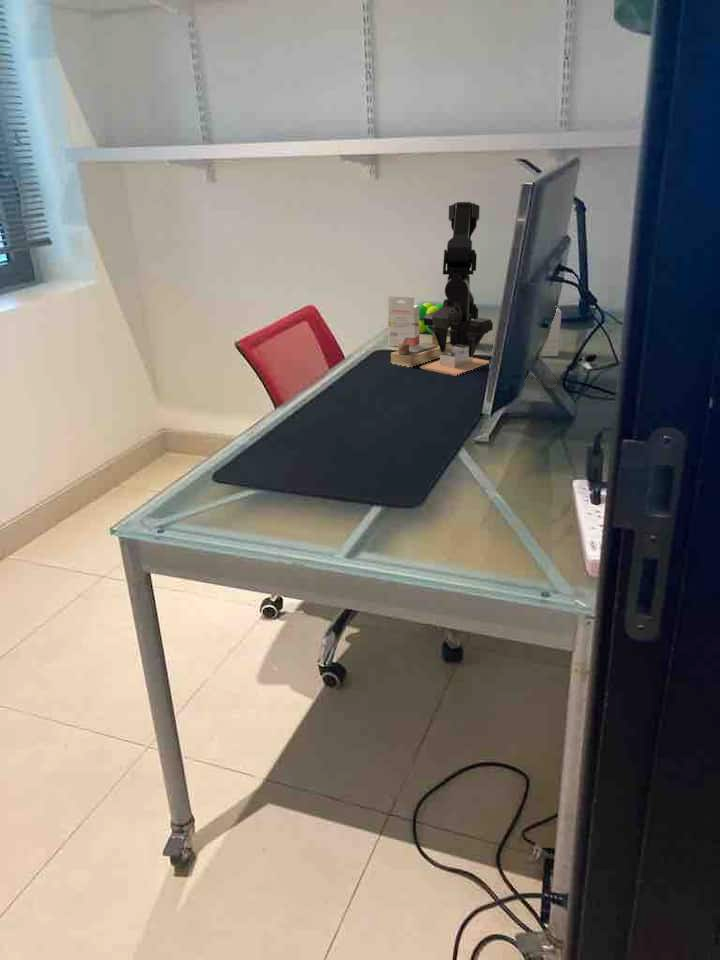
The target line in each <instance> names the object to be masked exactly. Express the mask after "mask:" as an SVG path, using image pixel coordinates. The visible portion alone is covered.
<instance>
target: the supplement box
mask: <svg viewBox="0 0 720 960" xmlns="http://www.w3.org/2000/svg"><path fill="white" fill-rule="evenodd" d="M556 307H557V309H556V313H555V316H554V319H553V321H552V324H551V329H550V333H549V337H548V339H547V342H546V344H545V347H544V349H543V352H542V356H541V357H559V351H560V350H559V349H560V348H559V347H560V336H561V324H562V323H561V322H562V311H561V309H560V308H559V307H558V306H556Z"/></svg>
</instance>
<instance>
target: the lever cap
mask: <svg viewBox="0 0 720 960" xmlns="http://www.w3.org/2000/svg"><path fill="white" fill-rule="evenodd" d="M473 358H474V355H473V356H472V357H469V346H468V345H462V344H456V345H451V351H449V352H446V353H443V354H440V359H439V360H440V366H445V367H450V368H457V367H460V366H463V365H466V364H469V363H472V362H473Z"/></svg>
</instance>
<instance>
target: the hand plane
mask: <svg viewBox="0 0 720 960" xmlns="http://www.w3.org/2000/svg"><path fill="white" fill-rule="evenodd" d="M431 335H432V338H431V339H432V340H431V341H428V342H423V343H419V345H415V346H412V347H409V344H399V346H398V350H396V351H393V352H390V364H391V363H392V365H395V364H396V366H400V365H401V366H400V367H404V366H406V367H405V368H409V367H411V368H414V367H413V366H415V367H416V365H418V366H420V365H419V364H421V365H424V364H426V363H425V362H427V363H429V362H428V361H430V362H432V361H431V360H434V359H437V358H440V354H443V353H446V352H449V351H452V345H451V344H446V348H445V351H444V352H441V350H440V347H439V344H438V341H437V338H436V336H435V333H433V334H431ZM437 360H438V359H437ZM434 361H435V360H434ZM423 363H424V364H423Z"/></svg>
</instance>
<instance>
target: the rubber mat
mask: <svg viewBox="0 0 720 960" xmlns="http://www.w3.org/2000/svg"><path fill="white" fill-rule="evenodd" d="M489 361H490V360H487V359H480V358H476V357H473V362H472V363H469V364H466V365H463V366H460V367H457V368H450V367H445V366H440V359H437V360H434V361H431V362H428V363H425V364H422V365H421V366H420V365H419V368H421V369H420V370H425V371H431V372H436V373H440V374H444V375H449V374H450V376H454V377H457V375H458V376H461V375H463V374H462V373H464V374H466V373H465V372H467V371H470V370H472V371H474V370H473V369H475V368H478V367H480V366H482V365H486V364H487V363H488V364H489ZM489 365H490V364H489ZM478 369H479V368H478ZM475 370H476V369H475ZM470 372H471V371H470ZM467 373H468V372H467ZM460 374H461V375H460Z"/></svg>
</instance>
